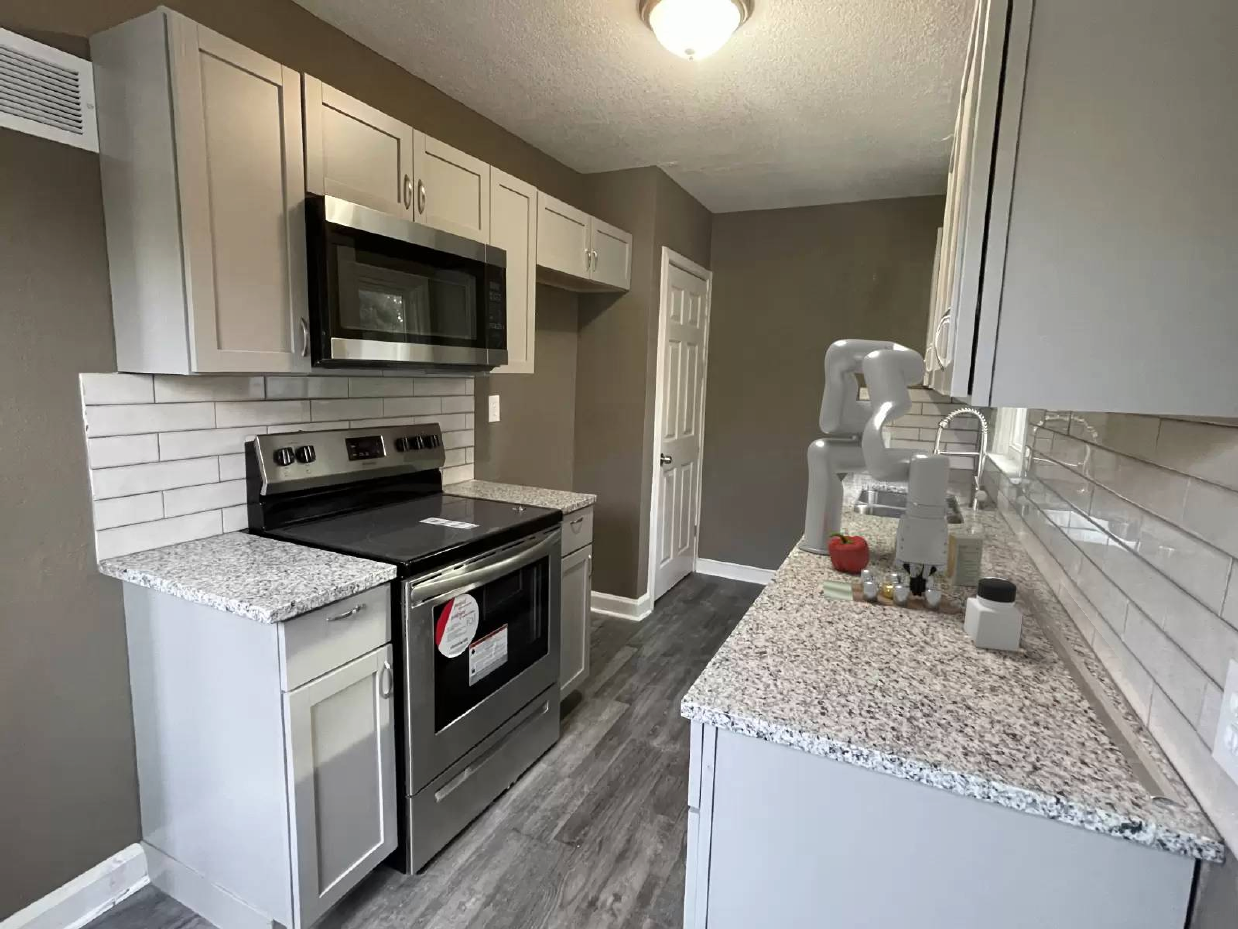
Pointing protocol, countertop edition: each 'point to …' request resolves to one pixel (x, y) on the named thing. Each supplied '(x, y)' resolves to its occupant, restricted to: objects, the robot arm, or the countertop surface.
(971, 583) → the skincare box
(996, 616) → the medicine bottle
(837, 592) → the board
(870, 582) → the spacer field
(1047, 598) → the countertop surface
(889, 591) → the brass knob
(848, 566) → the vegetable
